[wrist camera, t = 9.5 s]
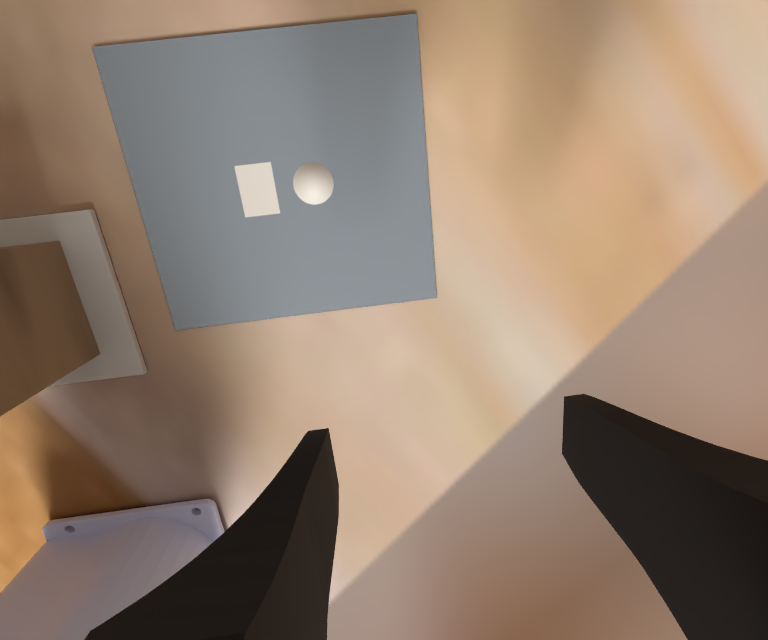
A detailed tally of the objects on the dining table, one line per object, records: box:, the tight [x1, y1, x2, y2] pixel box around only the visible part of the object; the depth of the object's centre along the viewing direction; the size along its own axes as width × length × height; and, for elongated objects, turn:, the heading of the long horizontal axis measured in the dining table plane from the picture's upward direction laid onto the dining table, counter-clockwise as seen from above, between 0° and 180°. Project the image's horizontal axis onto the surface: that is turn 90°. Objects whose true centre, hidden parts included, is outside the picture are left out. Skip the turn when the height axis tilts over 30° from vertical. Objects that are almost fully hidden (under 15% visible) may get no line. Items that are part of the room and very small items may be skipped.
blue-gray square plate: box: [92, 13, 437, 331], centre depth 18 cm, size 13×12×1 cm
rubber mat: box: [0, 209, 147, 387], centre depth 18 cm, size 9×8×1 cm
